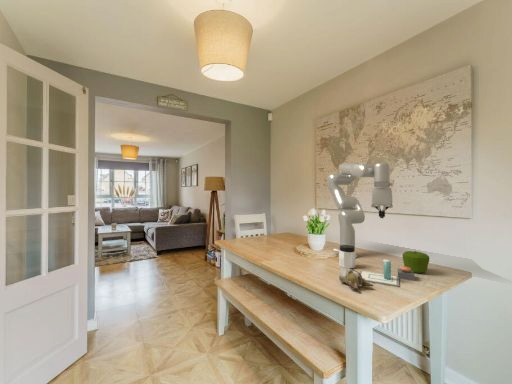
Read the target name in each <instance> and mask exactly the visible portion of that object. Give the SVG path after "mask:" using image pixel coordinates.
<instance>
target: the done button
mask: <svg viewBox="0 0 512 384" xmlns="http://www.w3.org/2000/svg"><path fill="white" fill-rule="evenodd" d="M400 269H401V270H402V271H404V272H407V273H408V272H410V271H411V268H410V267H407V266H404V265H402V266H400Z"/></svg>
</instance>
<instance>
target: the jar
mask: <svg viewBox="0 0 512 384" xmlns="http://www.w3.org/2000/svg"><path fill="white" fill-rule="evenodd" d="M339 249H340V250H339V256H338V260H339V261H338V266H339V267H340V268H341V266H342V267H344V268H347V269H348V268H353V269H354V268H356V258H355V254H356V246H355V247H354V246H351V245H340V244H339Z"/></svg>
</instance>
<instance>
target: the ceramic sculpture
mask: <svg viewBox="0 0 512 384" xmlns="http://www.w3.org/2000/svg"><path fill="white" fill-rule="evenodd" d="M338 278H339V279H338V280H339V282H341V283H342V284H343V283H345V284H347V285H348V287H349V288H351V290H359V287H361V286H362V287H366V288H367V287H368V288H369V287H374V284H373V283H371V282H368V281H367V280H365V279H364V278H362V275H361V274H360V271H357V270H355V269H354V268H348V269H347V268H344V267H342V266H341V267H340V269H339V274H338Z"/></svg>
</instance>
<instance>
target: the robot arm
mask: <svg viewBox="0 0 512 384" xmlns="http://www.w3.org/2000/svg"><path fill="white" fill-rule="evenodd" d="M357 177H359V178H374V179H373V180H374V183H373V185H374V187H373V188H372V191H371V206H370V207H371V208H374V209H376V210H377V211H378V217H379V218H380V219H385V217H386V211H387V210H388V209H392V208H394V206H393V192H392V188H391V187H390V186H393V182H390V164H389V163H388V162H379V163H375V164H371V163H370V164H368V163H358V162H343V163H341V164H340V165H339V166H338V172H334V173H330V174H329V175H328V176H327V177H326V185H327V188H328V190H329V192H330V193H331V195H332V199H333V201H334V203H335V206H336V207H337V209H338V210H341V211H339V213H338V222H339V246H340V245H351V246H354V247H355V248H356V230H355V227H354V226H353V224H358V225H359V224H362V223H364V221H365V219H366V215H365V211H364V210H363V208H362V205H361V203H360V201H359V200H358V198H357V197H355V196H347V195H346V193H345V191H344V190H343V188H342V187H341V186H349V185H350V184H352V183H353V181H354V180H355V179H356V178H357ZM381 206H383V208H382V209H381ZM339 250H340V248H333V252H334V251H335V253H337V256H338V257H339ZM357 258H358V254H356V253H355V259H357Z"/></svg>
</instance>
